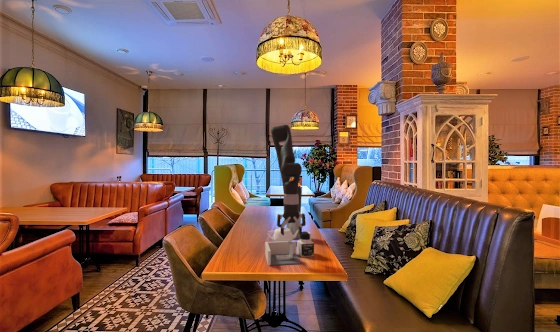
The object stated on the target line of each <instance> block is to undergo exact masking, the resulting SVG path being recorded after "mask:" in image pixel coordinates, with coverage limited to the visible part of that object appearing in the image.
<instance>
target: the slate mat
mask: <svg viewBox="0 0 560 332" xmlns="http://www.w3.org/2000/svg"><path fill="white" fill-rule="evenodd" d="M276 255H288V254H273V255H271V266H287V265H288V266H290V265H291V266H292V265H302V261H301V260H300V258H299V257H298V256H299V255H297V253H296V254H293V260H287V261H277V260H276Z"/></svg>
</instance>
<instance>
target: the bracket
mask: <svg viewBox="0 0 560 332" xmlns="http://www.w3.org/2000/svg"><path fill="white" fill-rule="evenodd" d="M276 260H277V261H287V260H293V244H292V242H291V241H289V242H288V255H276Z"/></svg>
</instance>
